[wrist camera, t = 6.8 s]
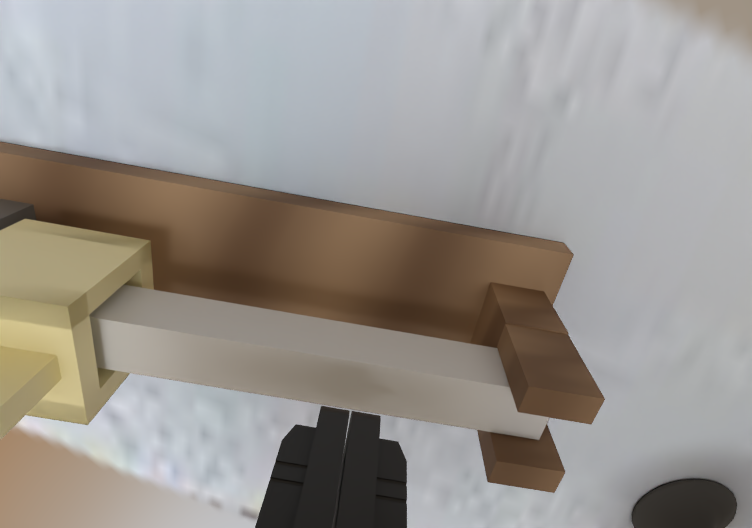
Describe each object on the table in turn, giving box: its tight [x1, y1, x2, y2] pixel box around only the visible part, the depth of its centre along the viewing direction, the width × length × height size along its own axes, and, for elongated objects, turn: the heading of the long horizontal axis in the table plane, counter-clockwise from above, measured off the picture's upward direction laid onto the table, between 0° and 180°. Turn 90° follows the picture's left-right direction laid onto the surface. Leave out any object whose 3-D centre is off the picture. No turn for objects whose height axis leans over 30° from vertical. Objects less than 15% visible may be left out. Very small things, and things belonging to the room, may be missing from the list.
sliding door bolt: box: [0, 199, 550, 440], centre depth 14 cm, size 21×4×5 cm, turn 80°
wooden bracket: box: [0, 142, 605, 493], centre depth 15 cm, size 22×7×6 cm, turn 80°
